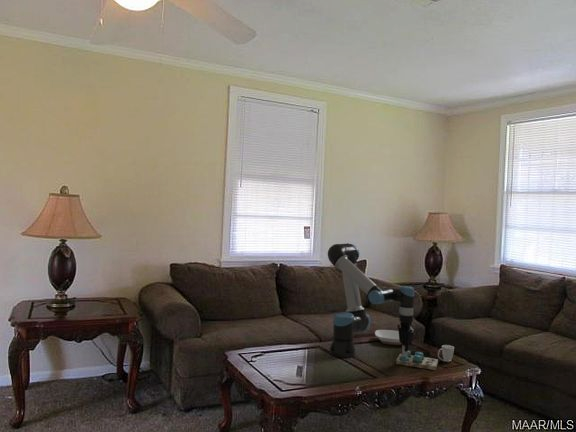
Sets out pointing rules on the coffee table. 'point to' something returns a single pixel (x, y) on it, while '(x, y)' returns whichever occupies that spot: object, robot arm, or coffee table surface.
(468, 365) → the coffee table surface
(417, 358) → the button
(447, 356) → the cup
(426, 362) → the board
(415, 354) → the button
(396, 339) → the bowl
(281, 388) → the coffee table surface
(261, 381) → the coffee table surface
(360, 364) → the coffee table surface
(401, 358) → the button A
